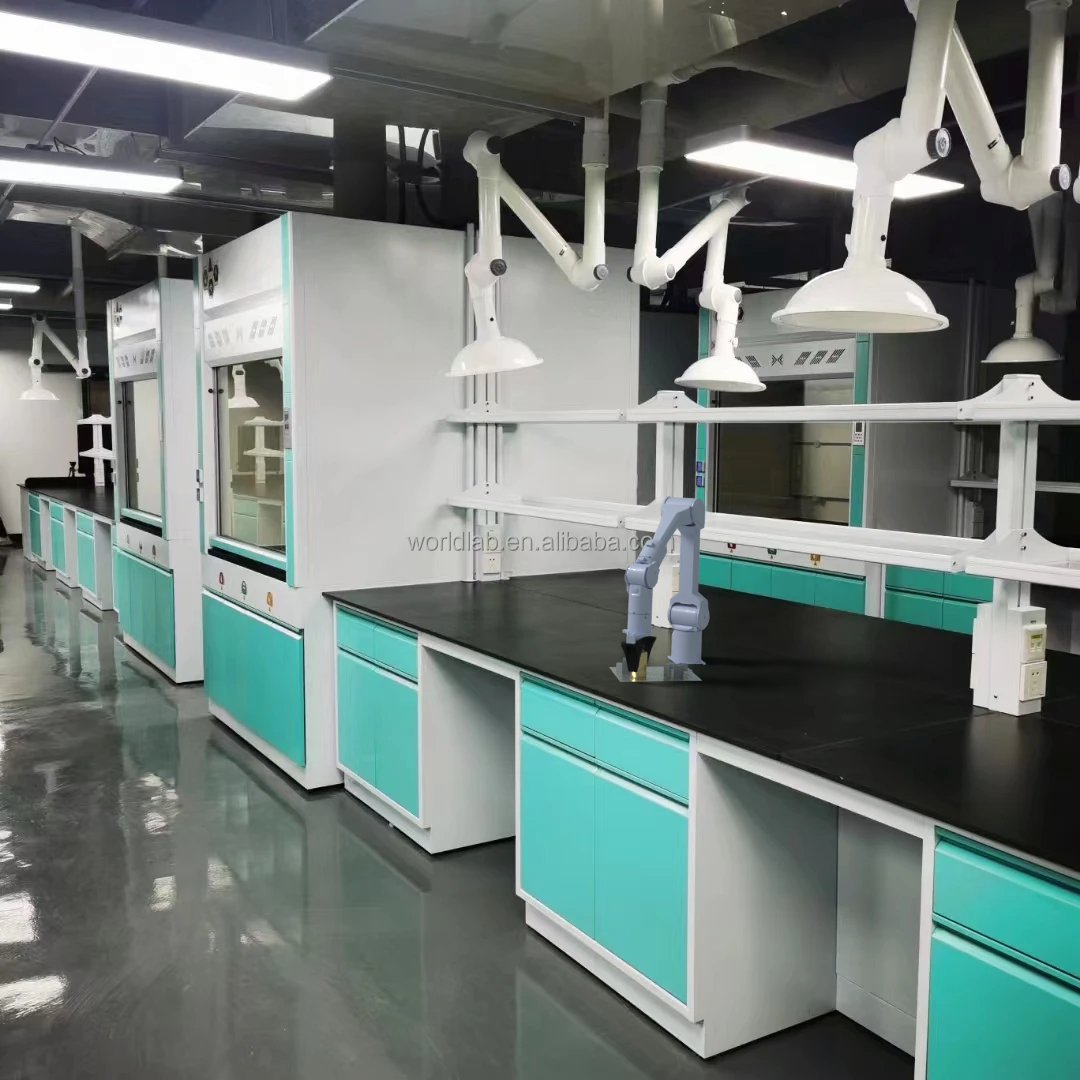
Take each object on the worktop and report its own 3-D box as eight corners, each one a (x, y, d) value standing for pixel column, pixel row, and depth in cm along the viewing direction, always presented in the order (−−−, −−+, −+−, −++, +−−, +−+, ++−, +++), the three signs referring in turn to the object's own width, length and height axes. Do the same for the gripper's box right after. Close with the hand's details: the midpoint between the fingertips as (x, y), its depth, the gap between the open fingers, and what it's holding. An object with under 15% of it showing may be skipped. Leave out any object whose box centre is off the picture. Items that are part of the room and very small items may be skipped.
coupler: (628, 676, 249) (629, 647, 249) (644, 676, 250) (645, 647, 249) (631, 680, 245) (632, 651, 245) (648, 680, 246) (648, 651, 245)
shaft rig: (609, 668, 259) (609, 653, 258) (686, 667, 261) (686, 653, 261) (620, 683, 244) (620, 667, 244) (701, 682, 246) (702, 666, 246)
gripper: (632, 607, 254) (630, 661, 255) (615, 615, 240) (612, 672, 241) (660, 610, 251) (657, 664, 252) (644, 618, 238) (641, 675, 239)
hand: (637, 668), depth 247 cm, fingers open, 7 cm apart
